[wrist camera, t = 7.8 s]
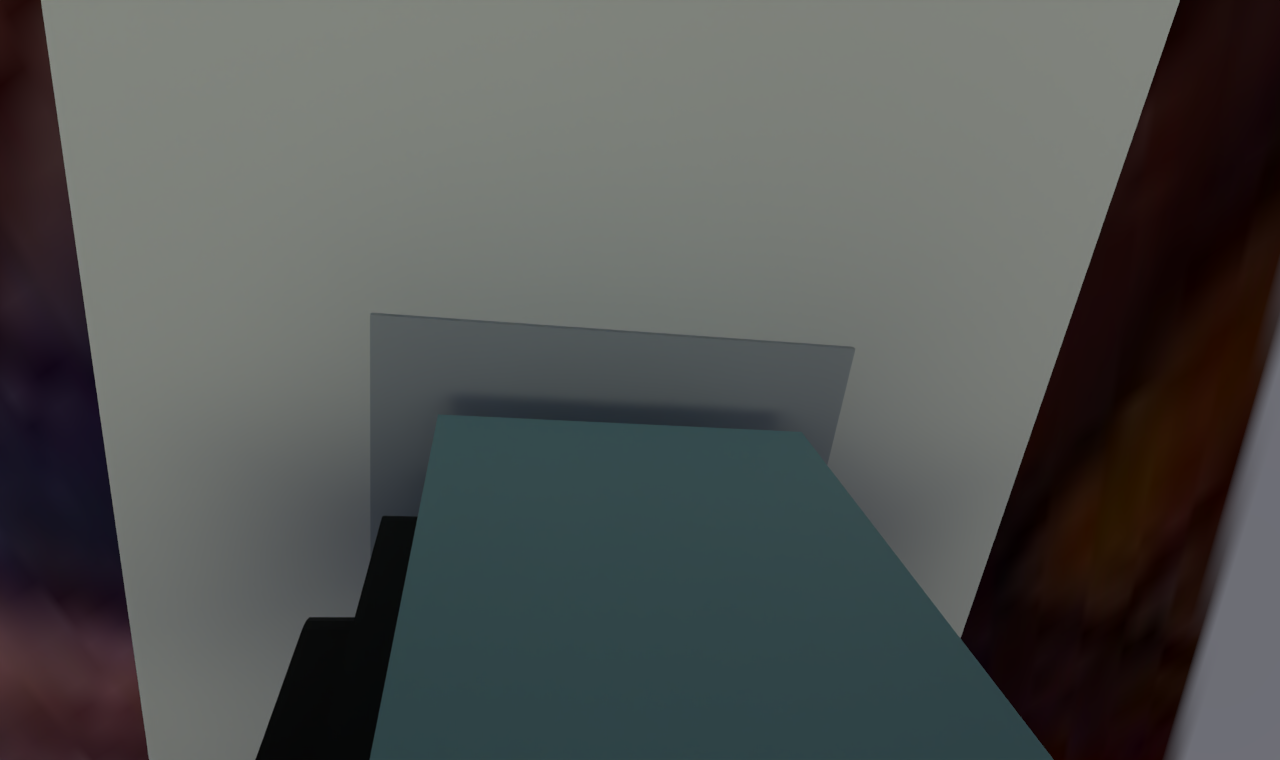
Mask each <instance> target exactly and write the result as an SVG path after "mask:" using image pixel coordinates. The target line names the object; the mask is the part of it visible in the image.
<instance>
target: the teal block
mask: <svg viewBox="0 0 1280 760" xmlns="http://www.w3.org/2000/svg"><path fill="white" fill-rule="evenodd" d="M370 760H1053V758H1052V757H1051V756H1050V755H1049V753H1048V752H1047V751H1046V749H1045V748H1044V747H1043V745H1042V744H1041V743H1040V742H1039V740H1038V739H1037V738H1036V736H1035V735H1034V734H1033V732H1032V731H1031V730H1030V728H1029V727H1028V726H1027V725H1026V723H1025V722H1024V721H1023V719H1022V718H1021V717H1020V715H1019V714H1018V713H1017V712H1016V710H1015V709H1014V708H1013V706H1012V705H1011V704H1010V702H1009V701H1008V700H1007V699H1006V697H1005V696H1004V695H1003V693H1002V692H1001V691H1000V689H999V688H998V687H997V686H996V684H995V683H994V682H993V680H992V679H991V678H990V676H989V675H988V674H987V673H986V671H985V670H984V669H983V667H982V666H981V665H980V663H979V662H978V661H977V660H976V658H975V657H974V656H973V654H972V653H971V652H970V650H969V649H968V648H967V647H966V645H965V644H964V643H963V641H962V640H961V639H960V637H959V636H958V635H957V634H956V632H955V631H954V630H953V628H952V627H951V626H950V624H949V623H948V622H947V620H946V619H945V618H944V617H943V615H942V614H941V613H940V611H939V610H938V609H937V607H936V606H935V605H934V604H933V602H932V601H931V600H930V598H929V597H928V596H927V594H926V593H925V592H924V591H923V589H922V588H921V587H920V585H919V584H918V583H917V581H916V580H915V579H914V578H913V576H912V575H911V574H910V572H909V571H908V570H907V568H906V567H905V566H904V565H903V563H902V562H901V561H900V559H899V558H898V557H897V555H896V554H895V553H894V552H893V550H892V549H891V548H890V546H889V545H888V544H887V542H886V541H885V540H884V539H883V537H882V536H881V535H880V533H879V532H878V531H877V529H876V528H875V527H874V526H873V524H872V523H871V522H870V520H869V519H868V518H867V516H866V515H865V514H864V512H863V511H862V510H861V509H860V507H859V506H858V505H857V503H856V502H855V501H854V499H853V498H852V497H851V496H850V494H849V493H848V492H847V490H846V489H845V488H844V486H843V485H842V484H841V483H840V481H839V480H838V479H837V477H836V476H835V475H834V473H833V472H832V471H831V470H830V468H829V467H828V466H827V464H826V463H825V462H824V460H823V459H822V458H821V457H820V455H819V454H818V453H817V451H816V450H815V449H814V447H813V446H812V445H811V444H810V442H809V441H808V440H807V438H806V437H805V436H804V434H803V433H802V432H793V431H772V430H752V429H731V428H710V427H689V426H668V425H648V424H627V423H606V422H585V421H564V420H544V419H523V418H502V417H481V416H460V415H439V414H438V417H437V422H436V427H435V432H434V437H433V442H432V447H431V452H430V457H429V462H428V467H427V472H426V477H425V482H424V488H423V493H422V498H421V503H420V508H419V513H418V518H417V523H416V528H415V533H414V538H413V543H412V548H411V553H410V558H409V563H408V568H407V573H406V579H405V584H404V589H403V594H402V599H401V604H400V609H399V614H398V619H397V624H396V629H395V634H394V639H393V644H392V649H391V654H390V659H389V664H388V670H387V675H386V680H385V685H384V690H383V695H382V700H381V705H380V710H379V715H378V720H377V725H376V730H375V735H374V740H373V745H372V750H371V755H370Z"/></svg>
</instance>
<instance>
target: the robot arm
mask: <svg viewBox="0 0 1280 760" xmlns="http://www.w3.org/2000/svg"><path fill="white" fill-rule="evenodd" d="M417 518H418V516H382V519H381V522H380V526H379V530H378V533H377V537H376V541H375V544H374V548H373V552H372V555H371V559H370V563H369V566H368V570H367V574H366V577H365V581H364V585H363V588H362V592H361V596H360V599H359V603H358V607H357V610H356V614H355V617H309V618H308V619H307V620H306V622H305V624H304V626H303V628H302V631H301V633H300V636H299V639H298V642H297V645H296V647H295V650H294V653H293V656H292V659H291V661H290V664H289V667H288V670H287V673H286V675H285V678H284V681H283V684H282V687H281V689H280V692H279V695H278V698H277V701H276V703H275V706H274V709H273V712H272V715H271V717H270V720H269V723H268V726H267V729H266V731H265V734H264V737H263V740H262V743H261V745H260V748H259V751H258V754H257V757H256V759H255V760H370V755H371V750H372V745H373V740H374V735H375V730H376V725H377V720H378V715H379V710H380V705H381V700H382V695H383V690H384V685H385V680H386V675H387V670H388V664H389V659H390V654H391V649H392V644H393V639H394V634H395V629H396V624H397V619H398V614H399V609H400V604H401V599H402V594H403V589H404V584H405V579H406V573H407V568H408V563H409V558H410V553H411V548H412V543H413V538H414V533H415V528H416V523H417Z"/></svg>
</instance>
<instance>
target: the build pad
mask: <svg viewBox="0 0 1280 760" xmlns="http://www.w3.org/2000/svg"><path fill="white" fill-rule="evenodd" d="M1179 1H1180V0H41V4H42V11H43V18H44V25H45V32H46V39H47V46H48V53H49V60H50V67H51V74H52V81H53V88H54V95H55V102H56V109H57V116H58V123H59V130H60V137H61V144H62V151H63V158H64V165H65V172H66V179H67V186H68V193H69V200H70V207H71V214H72V221H73V228H74V236H75V243H76V250H77V257H78V264H79V271H80V278H81V285H82V292H83V299H84V306H85V313H86V320H87V327H88V334H89V341H90V348H91V355H92V362H93V369H94V376H95V383H96V390H97V397H98V404H99V411H100V418H101V425H102V432H103V439H104V446H105V453H106V460H107V467H108V474H109V481H110V488H111V495H112V503H113V510H114V517H115V524H116V531H117V538H118V545H119V552H120V559H121V566H122V573H123V580H124V587H125V594H126V601H127V608H128V615H129V622H130V629H131V636H132V643H133V650H134V657H135V664H136V671H137V678H138V685H139V692H140V699H141V706H142V713H143V720H144V727H145V734H146V741H147V748H148V755H149V760H255V759H256V757H257V754H258V751H259V748H260V745H261V743H262V740H263V737H264V734H265V731H266V729H267V726H268V723H269V720H270V717H271V715H272V712H273V709H274V706H275V703H276V701H277V698H278V695H279V692H280V689H281V687H282V684H283V681H284V678H285V675H286V673H287V670H288V667H289V664H290V661H291V659H292V656H293V653H294V650H295V647H296V645H297V642H298V639H299V636H300V633H301V631H302V628H303V626H304V624H305V622H306V620H307V619H308V618H309V617H355V614H356V610H357V607H358V603H359V599H360V596H361V592H362V588H363V585H364V581H365V577H366V574H367V570H368V566H369V563H370V559H371V555H372V552H373V548H374V544H375V541H376V537H377V533H378V530H379V526H380V522H381V519H382V516H418V513H419V508H420V503H421V498H422V493H423V488H424V482H425V477H426V472H427V467H428V462H429V457H430V452H431V447H432V442H433V437H434V432H435V427H436V422H437V417H438V414H439V415H460V416H481V417H502V418H523V419H544V420H564V421H585V422H606V423H627V424H648V425H668V426H689V427H710V428H731V429H752V430H772V431H793V432H802V433H803V434H804V436H805V437H806V438H807V440H808V441H809V442H810V444H811V445H812V446H813V447H814V449H815V450H816V451H817V453H818V454H819V455H820V457H821V458H822V459H823V460H824V462H825V463H826V464H827V466H828V467H829V468H830V470H831V471H832V472H833V473H834V475H835V476H836V477H837V479H838V480H839V481H840V483H841V484H842V485H843V486H844V488H845V489H846V490H847V492H848V493H849V494H850V496H851V497H852V498H853V499H854V501H855V502H856V503H857V505H858V506H859V507H860V509H861V510H862V511H863V512H864V514H865V515H866V516H867V518H868V519H869V520H870V522H871V523H872V524H873V526H874V527H875V528H876V529H877V531H878V532H879V533H880V535H881V536H882V537H883V539H884V540H885V541H886V542H887V544H888V545H889V546H890V548H891V549H892V550H893V552H894V553H895V554H896V555H897V557H898V558H899V559H900V561H901V562H902V563H903V565H904V566H905V567H906V568H907V570H908V571H909V572H910V574H911V575H912V576H913V578H914V579H915V580H916V581H917V583H918V584H919V585H920V587H921V588H922V589H923V591H924V592H925V593H926V594H927V596H928V597H929V598H930V600H931V601H932V602H933V604H934V605H935V606H936V607H937V609H938V610H939V611H940V613H941V614H942V615H943V617H944V618H945V619H946V620H947V622H948V623H949V624H950V626H951V627H952V628H953V630H954V631H955V632H956V634H957V635H958V636H959V637H960V638H961V635H962V632H963V629H964V626H965V623H966V621H967V618H968V615H969V612H970V609H971V606H972V603H973V600H974V597H975V594H976V591H977V589H978V586H979V583H980V580H981V577H982V574H983V571H984V568H985V565H986V562H987V559H988V557H989V554H990V551H991V548H992V545H993V542H994V539H995V536H996V533H997V530H998V527H999V525H1000V522H1001V519H1002V516H1003V513H1004V510H1005V507H1006V504H1007V501H1008V498H1009V495H1010V493H1011V490H1012V487H1013V484H1014V481H1015V478H1016V475H1017V472H1018V469H1019V466H1020V463H1021V461H1022V458H1023V455H1024V452H1025V449H1026V446H1027V443H1028V440H1029V437H1030V434H1031V431H1032V429H1033V426H1034V423H1035V420H1036V417H1037V414H1038V411H1039V408H1040V405H1041V402H1042V399H1043V397H1044V394H1045V391H1046V388H1047V385H1048V382H1049V379H1050V376H1051V373H1052V370H1053V367H1054V365H1055V362H1056V359H1057V356H1058V353H1059V350H1060V347H1061V344H1062V341H1063V338H1064V335H1065V333H1066V330H1067V327H1068V324H1069V321H1070V318H1071V315H1072V312H1073V309H1074V306H1075V303H1076V301H1077V298H1078V295H1079V292H1080V289H1081V286H1082V283H1083V280H1084V277H1085V274H1086V271H1087V269H1088V266H1089V263H1090V260H1091V257H1092V254H1093V251H1094V248H1095V245H1096V242H1097V239H1098V237H1099V234H1100V231H1101V228H1102V225H1103V222H1104V219H1105V216H1106V213H1107V210H1108V207H1109V205H1110V202H1111V199H1112V196H1113V193H1114V190H1115V187H1116V184H1117V181H1118V178H1119V175H1120V173H1121V170H1122V167H1123V164H1124V161H1125V158H1126V155H1127V152H1128V149H1129V146H1130V143H1131V141H1132V138H1133V135H1134V132H1135V129H1136V126H1137V123H1138V120H1139V117H1140V114H1141V111H1142V109H1143V106H1144V103H1145V100H1146V97H1147V94H1148V91H1149V88H1150V85H1151V82H1152V79H1153V77H1154V74H1155V71H1156V68H1157V65H1158V62H1159V59H1160V56H1161V53H1162V50H1163V47H1164V45H1165V42H1166V39H1167V36H1168V33H1169V30H1170V27H1171V24H1172V21H1173V18H1174V15H1175V13H1176V10H1177V7H1178V4H1179Z"/></svg>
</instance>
